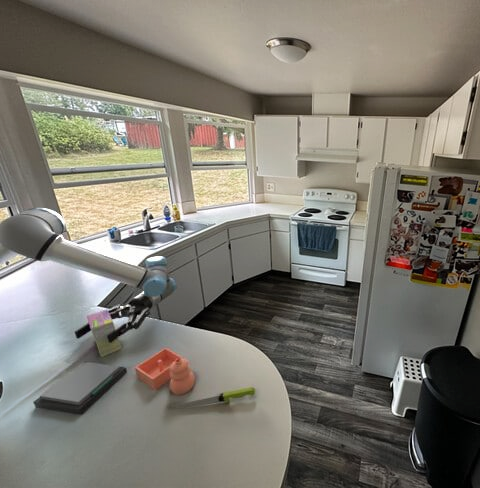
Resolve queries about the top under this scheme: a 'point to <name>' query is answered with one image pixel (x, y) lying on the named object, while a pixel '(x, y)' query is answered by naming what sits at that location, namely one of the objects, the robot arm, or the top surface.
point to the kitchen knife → (217, 398)
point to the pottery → (166, 371)
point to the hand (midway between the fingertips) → (92, 337)
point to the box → (103, 332)
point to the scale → (80, 388)
